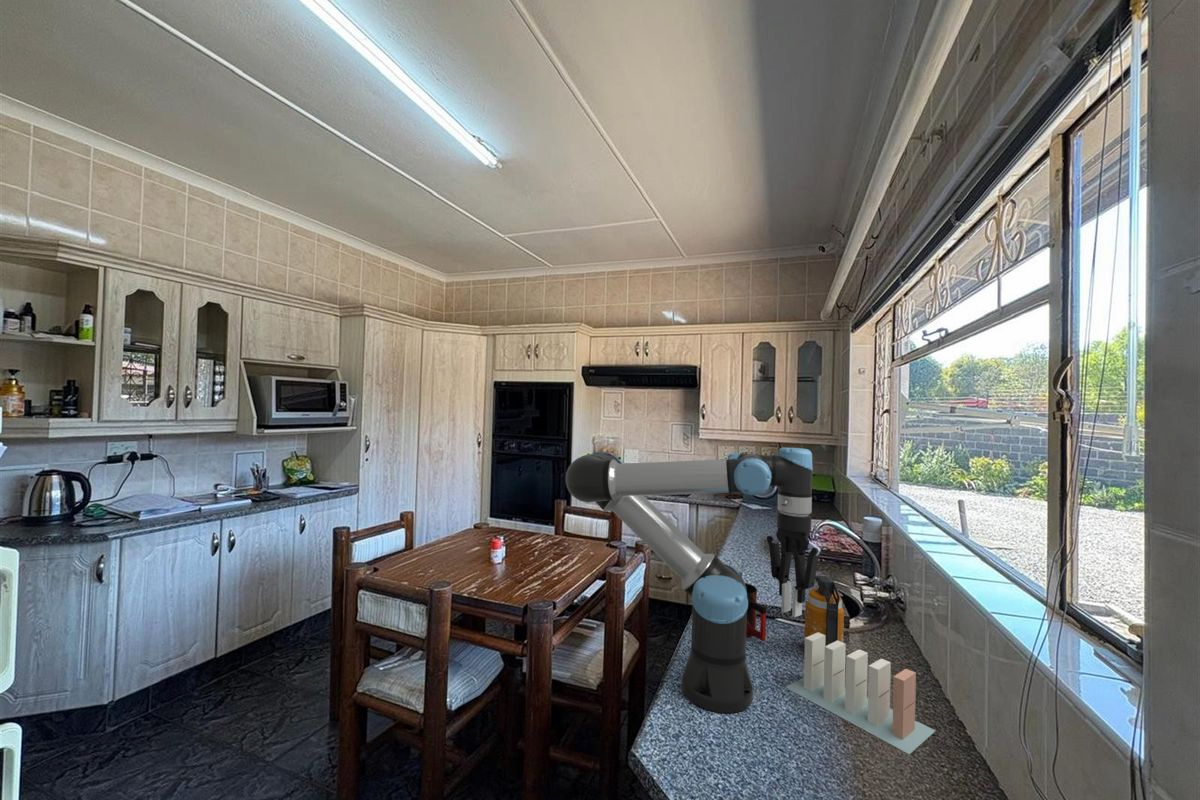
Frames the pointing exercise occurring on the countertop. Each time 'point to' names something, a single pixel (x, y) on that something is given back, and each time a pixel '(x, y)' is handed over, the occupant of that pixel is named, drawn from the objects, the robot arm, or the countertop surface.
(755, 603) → the mug
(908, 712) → the end domino
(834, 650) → the domino
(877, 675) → the domino
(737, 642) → the robot arm
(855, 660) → the domino
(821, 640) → the domino
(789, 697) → the countertop surface
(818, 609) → the canister
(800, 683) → the mat
